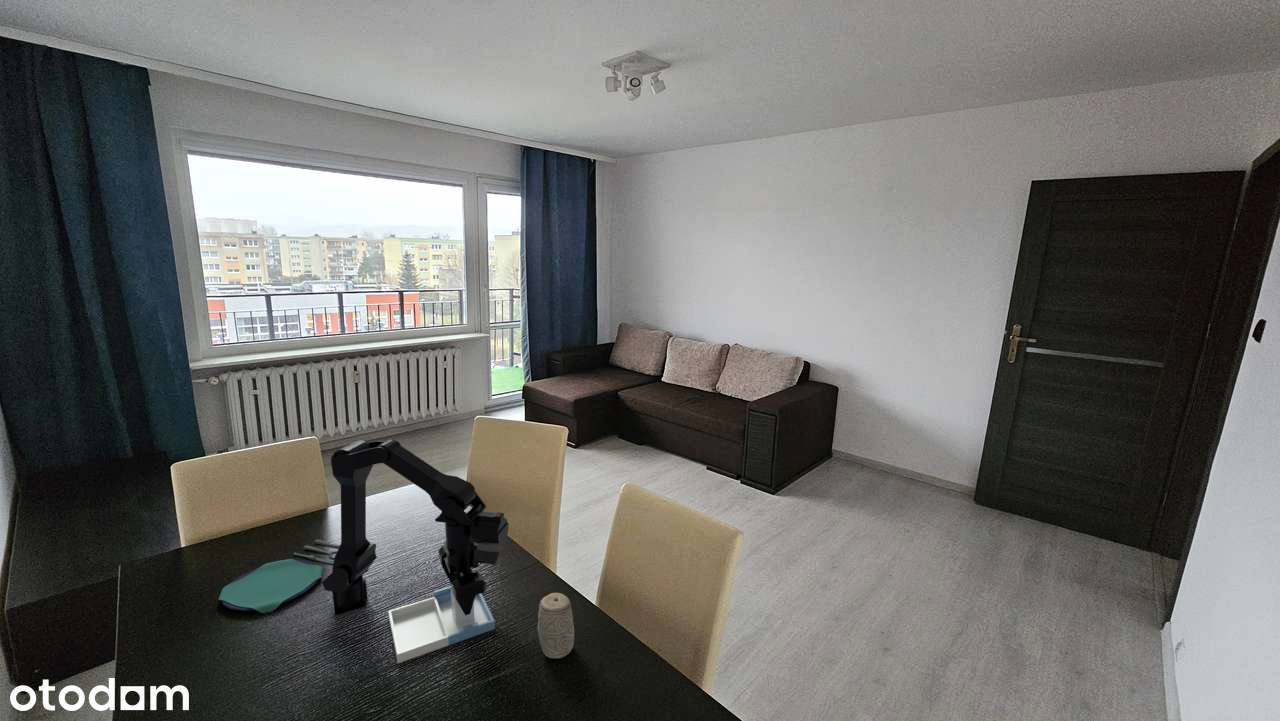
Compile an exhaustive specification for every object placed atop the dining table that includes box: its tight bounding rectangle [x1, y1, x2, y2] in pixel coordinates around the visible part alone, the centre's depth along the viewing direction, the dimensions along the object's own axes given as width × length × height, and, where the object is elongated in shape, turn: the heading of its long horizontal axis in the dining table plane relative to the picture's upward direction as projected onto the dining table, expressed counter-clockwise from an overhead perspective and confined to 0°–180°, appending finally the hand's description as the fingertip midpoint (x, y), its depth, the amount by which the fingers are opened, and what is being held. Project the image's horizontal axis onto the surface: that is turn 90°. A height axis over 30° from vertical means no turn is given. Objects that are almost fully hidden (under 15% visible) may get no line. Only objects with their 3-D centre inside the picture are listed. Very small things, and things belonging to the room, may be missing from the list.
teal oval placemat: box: [217, 539, 341, 614], centre depth 129 cm, size 20×30×2 cm, turn 164°
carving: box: [537, 592, 575, 659], centre depth 105 cm, size 6×8×12 cm
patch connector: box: [451, 587, 474, 625], centre depth 115 cm, size 4×4×9 cm
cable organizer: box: [387, 585, 496, 664], centre depth 113 cm, size 20×16×4 cm
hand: (462, 602), depth 115 cm, fingers open, 9 cm apart
